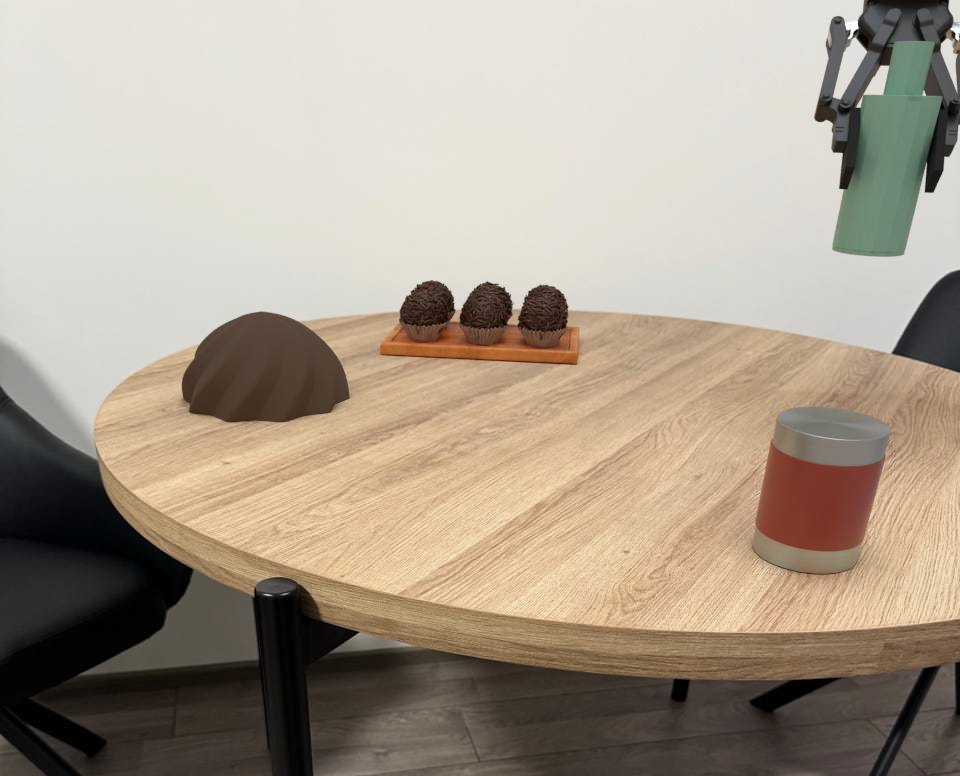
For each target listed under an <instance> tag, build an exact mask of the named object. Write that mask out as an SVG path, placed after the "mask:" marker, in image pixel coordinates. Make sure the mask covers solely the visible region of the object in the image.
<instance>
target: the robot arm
mask: <svg viewBox="0 0 960 776" xmlns="http://www.w3.org/2000/svg"><path fill="white" fill-rule="evenodd" d="M862 4H863V5H862V6H863V7H862V13H861V14H860V15H859V16H858V19H857V20H852V21H847V22H846V21H845V19H844V17H843V16H842V15H836V16H834V17H832V18H831V20H830V24H829V28H828V32H827V36H826V39H825V49H826V53H827V63H826V66H825V70H824V75H823V80H822V83H821V87H820V91H819V95H818V99H817V104H816V107H815V111H814V116H813V120H814V121H815V122H818V123H823V122H825V121H828V122H830V123H831V124H832V126H831V133H832V137H831V147H830V149H831V151H832V153H833V154H842V156H841V165H840V173H839V174H840V175H839V185H838V190H844V189H848V186H849V183H850V180H851V177H852V174H853V171H854V168H855V160H856V150H857V140H858V130H859V119H860V109H861V107H858V105H859V103H860V101H862V98H863V95H865V92H866V91H867V89H868V88H869V85H870V84H871V82H872V81H873V78H874V77H876V75H877V73H878V72H879V70H880V68H881V67H882V66H883V67H884V66H885V67H889V65H890V60H891V56H892V51H893V46H894V42H900V41H928V42H935V44H934V48H933V53H932V57H931V61H930V65H929V70H928V74H927V78H926V82H925V87H924V91H923V92H924V94H925V96H942V102H941V106H940V110H939V114H938V118H937V122H936V126H935V130H934V134H933V138H932V142H931V147H930V151H929V155H928V159H927V163H926V167H925V182H924V194H925V193H926V194H927V193H928V194H934V193H935V191H936V188H937V186H938V184H939V182H940V180H941V178H942V175H943V173H944V170H945V158H950V157H951V155H952V154H953V151H954V149H955V146H956V144H957V142H958V137H959V126H960V22H957V21H954V19H955V18H954V16H953V14H952V13H951V11H950V7H949V6H950V0H863V3H862ZM853 39H856V40H857V41H858V43H859V44H860V45H861V46H862V48H863V49H864V50H865V51H866V53H865V55H864V57H863V59H862V60H861V62H860V64H859V65H858V67H857V69H856V71H855V73H854V74H853V76H852V78H851V79H850V82H849V83H848V85H847V86H846V89H845V90H844V92H843V94H842V96H841V97H840V98H837V97H835V96H834V94H835V90H836V85H837V81H838V77H839V73H840V69H841V65H842V61H843V58H844V57H843V56H844V53H845V52H846V51H847V48H849V47H850V46H851V44H852V41H853ZM947 39H948V40H949V41H950V42H951V47H952V49H953V50H952V53H953V54H954V55H956V57H955V76H956V77H955V79H956V87H955V84H954V81H953V79H952V77H951V74H950V71H949V69H948V66H947V64H946V61H945V59H944V56H943V54H942V51H941V49H942V44H943V43H944V42H945V41H946V40H947Z"/></svg>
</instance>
